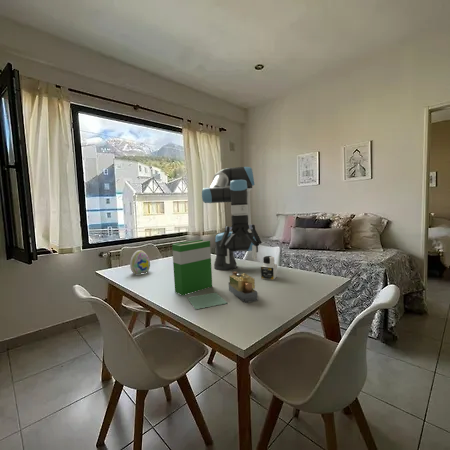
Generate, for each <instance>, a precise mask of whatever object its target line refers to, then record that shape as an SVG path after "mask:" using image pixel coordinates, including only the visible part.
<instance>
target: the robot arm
mask: <svg viewBox="0 0 450 450" xmlns="http://www.w3.org/2000/svg"><path fill="white" fill-rule="evenodd" d="M253 173H254V172H253V168H252V167H250V166H238V167H226V168H222V169H221V170H219V171H217V172H216V173H214V175H213V177H212V183H211V184H210V186H209V187H203V188H202V191H201V199H202V201H203V203H205V204H218V203H230V214H231V226H227V225H226V226H225V227H224V232H219V233H218V234H216V235H215V255H216V256H215V259H214V263H213V267H214V269H215V270H219V271H228V270H234V269H236V268H237V267H238V266H237V265H238V264H237V261H236V258H235V255H234V253H235V252H251V253H252V260H254V261H257V260H258V259H257V258H258V255H257V254H258V252H259V246H260V245H261V244H262V240H261V238H260V236H259V234H258V232H257V230H256V225H255V224H253V223H252V215H251V214H252V209H251V208H252V207H251V191H252V190H253V186H255V178H254V174H253Z"/></svg>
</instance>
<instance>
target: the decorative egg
mask: <svg viewBox="0 0 450 450" xmlns="http://www.w3.org/2000/svg"><path fill="white" fill-rule="evenodd" d="M129 267H130V268H129V269H130V270H131V272H132V274H134V273H135V274H141V273H146V272H147V273H148V272H149V270H150V269H151V268H150V267H151V260H150V258H149V255H148V254H147V253H146V252H145V251H143V250H142V249H141V250H140V249H138V250H136V251H135V252H133V254H132V256H131V258H130V261H129ZM147 273H146V274H147ZM135 274H134V275H135ZM141 275H142V274H141Z"/></svg>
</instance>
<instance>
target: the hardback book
mask: <svg viewBox="0 0 450 450" xmlns="http://www.w3.org/2000/svg"><path fill="white" fill-rule="evenodd" d="M171 248H172V249H171V250H172V251H171V252H172V263H173V264H172V266H173V280H174V292H175V293H176V292H177V293H176V294H178V293H179V294H178V295H180V294H181V296H182V295H183V296H186V295H185V294H187V295H189V294H188V293H190V294H193V293H196V292H198V290H200V291H203V290H206V289H209V288H212V287H213V275H212V273H213V272H212V254H211V252H212V251H211V250H212V249H211V240H204V241H203V239H197V240H191V241H184V242H177V243H172V246H171ZM208 287H209V288H208ZM205 288H206V289H205ZM202 289H203V290H202ZM195 291H196V292H195ZM192 292H193V293H192Z"/></svg>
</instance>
